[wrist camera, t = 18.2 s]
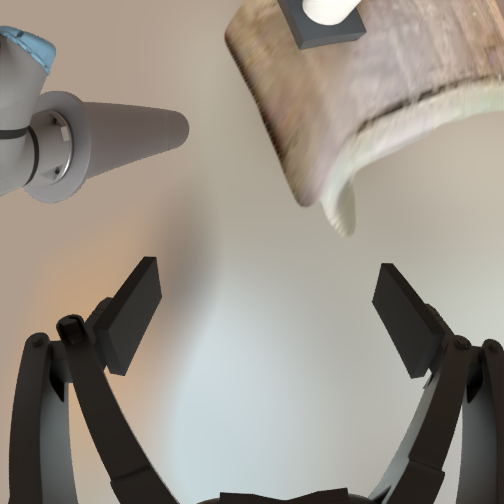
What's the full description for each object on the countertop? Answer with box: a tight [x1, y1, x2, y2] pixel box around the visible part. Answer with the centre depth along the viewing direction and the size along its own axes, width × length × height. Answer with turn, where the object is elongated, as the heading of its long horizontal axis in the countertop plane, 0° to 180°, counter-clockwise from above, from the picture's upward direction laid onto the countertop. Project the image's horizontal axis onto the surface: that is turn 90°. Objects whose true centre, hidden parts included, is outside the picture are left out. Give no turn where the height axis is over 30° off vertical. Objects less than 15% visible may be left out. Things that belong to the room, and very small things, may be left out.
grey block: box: [278, 0, 366, 50], centre depth 31 cm, size 10×10×5 cm
